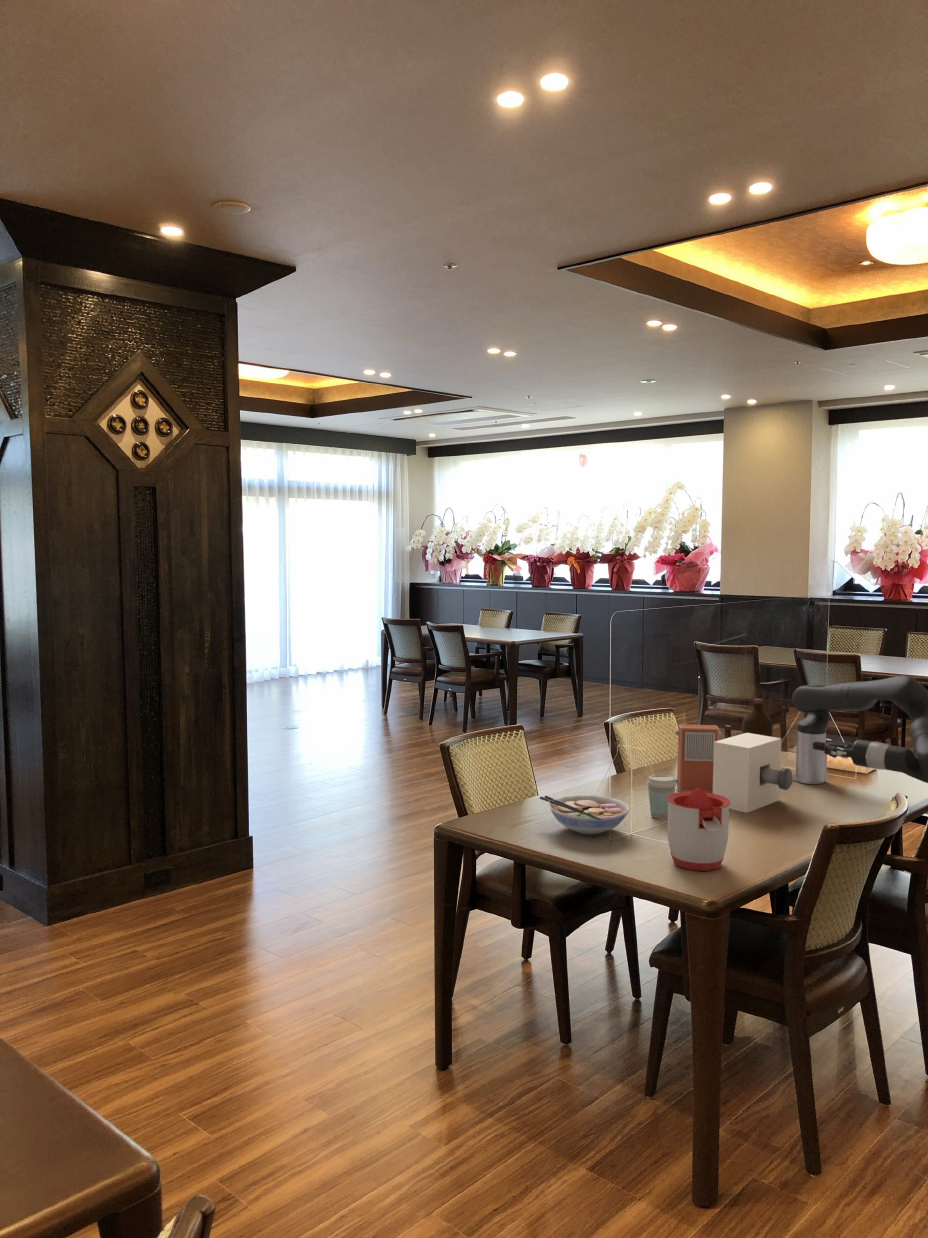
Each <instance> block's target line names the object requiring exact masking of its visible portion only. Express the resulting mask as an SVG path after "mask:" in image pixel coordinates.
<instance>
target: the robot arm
mask: <svg viewBox="0 0 928 1238" xmlns="http://www.w3.org/2000/svg"><path fill="white" fill-rule="evenodd" d="M793 691H794V692H793V693H792V696H791V702H792V705H793V706H794V708H795V709H796V710H798V711H799V712H801V713H805V714H806V713H807V715H806V717H804V718H803V719H801V720H800V721H799V722H797V726H796V749H795V750H796V751H795V753H796V754H795V755H796V757H795V758H796V759H795V777H794V779H795V781H797V782H799V783H802V784H809V785H820V784H824V782H827V770H828V757H832V758H835V759H836V758H837V757H840V758H842V759H849V758H850V759H851V760H852V764H853V765H855V766H857V767H863V768H868V769H869V768H870V769H873V770H874V769H875V770H879V771H880V770H883V771H884V770H886V771H891V772H896V773H902V774H904V775H907V776H909V777H911V778H914V779H916V780H918V781H921V782H923V783H925V784H926V783H927V784H928V689H926V687H924V686H923V685H922V684H921V683H920V682H919V681H918V680H917V679H916V678H914V677H912V676H910V675H904V674H903V675H897V676H891V677H887V678H882V679H873V680H866V681H865V680H864V681H852V682H851V681H849V682H843V683H842V682H841V683H836V684H832V685H827V686H825V685H822V684H810V685H809V684H807V685H802V686H799V687H797V688H796V689H795V690H793ZM878 700H887V701H888V700H889V701H891V702H892V703H893V704H895V705H896V706H897V707H898V708H899V709H900V710H902V711H903V712H904V713H906V714H907V715H908V717H909V719H910V720H911V722H912V723H911V724H910V727H909V733H908V734H909V738H910V740H911V744H912V745H911V746H912V747H913V750H914V751H915V753H916V756H917V757H916V756H915V754H914V753H913V751H912V750H911V749H910V748H908V747H903V746H897V745H891V744H887V743H883V742H878V741H871V740H865V739H857V740H855V741H854V742H853V741H851V742H846V741H845V742H844V741H838V742H837V741H832V742H826V738H827V736H826V735H827V734H826V733H827V728H828V725H829V722H830V721H829V720H830V711H841V712H842V711H847V712H859V711H860V712H861V711H867V710H869V709H871V708H872V707H873V706H874V705H875V704H876V703H877V702H878Z"/></svg>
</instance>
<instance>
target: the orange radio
mask: <svg viewBox="0 0 928 1238" xmlns="http://www.w3.org/2000/svg"><path fill="white" fill-rule="evenodd" d="M674 734H675V735H676V736H677V766H676V767H677V770H676V771H677V772H676V773H677V774H676V776H677V777H676V778H674V779H675V782H676V788H677V790H678V792H685V791H694V790H695V789H696V788H701V789H702V790H703V791H704V792H707V793H713V763H714V742H715V741H719V740H720V737H721V736H722V732H721V731H720V727H719V726H717V724H716V725H714V724H712V725H711V724H709V725H708V724H683V723H682V724H681V723H680V724H678V729H676V730H674Z"/></svg>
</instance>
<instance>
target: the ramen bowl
mask: <svg viewBox="0 0 928 1238" xmlns="http://www.w3.org/2000/svg"><path fill="white" fill-rule="evenodd" d="M539 799H540V800H542V801H545V802H547V803H548V805H549V806H548V807H549V808H550V810H551V813H552V815H553V816H554V818H555V819H556V820H557V822H558V823H559V824H560V825H562V826H563V827H565V828H567V829H568V830H571V831H574V832H575V833H578V834H580V835H585V836H594V835H595V836H596V835H600V834H601V833H604V832H608V831H610V830H613V829H615V828H617V826H619V825H620V823H621V822H622V821H624V819H625V818H626V817H627V816H628V813H629V812H630V810H631V809H630V806H629V805H628V804H627V803H626V802H624V801H623V800H620V799H616V798H611V797H608V796H601V795H593V794H592V795H590V794H586V795H585V794H584V795H583V794H577V795H566V796H562V797H557V798H553V797H550V796H549V795H544V796H539Z"/></svg>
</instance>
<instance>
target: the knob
mask: <svg viewBox="0 0 928 1238" xmlns="http://www.w3.org/2000/svg"><path fill="white" fill-rule="evenodd" d="M760 781H761V782H766V783H771V784H776V785H778V786H779V788H780V790H786V791H788V790H789V789H790V788H791V786H792V783H793V771H792V770H791V769H790V768H785V767H782V768H780V771H779V770H774V769H769V768H764V767H760Z"/></svg>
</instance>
